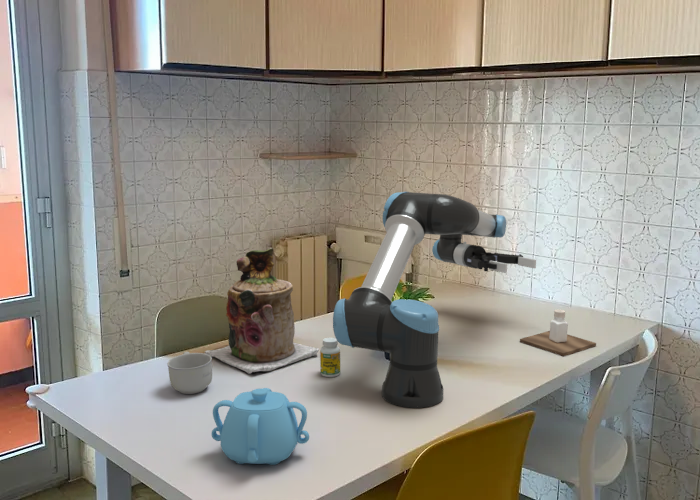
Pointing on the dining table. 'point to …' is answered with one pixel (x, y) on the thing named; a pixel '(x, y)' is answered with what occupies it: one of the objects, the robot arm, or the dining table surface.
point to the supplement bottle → (330, 358)
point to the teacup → (190, 372)
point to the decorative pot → (259, 427)
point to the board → (558, 344)
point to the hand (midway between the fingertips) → (521, 266)
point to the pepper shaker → (558, 327)
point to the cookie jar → (260, 319)
